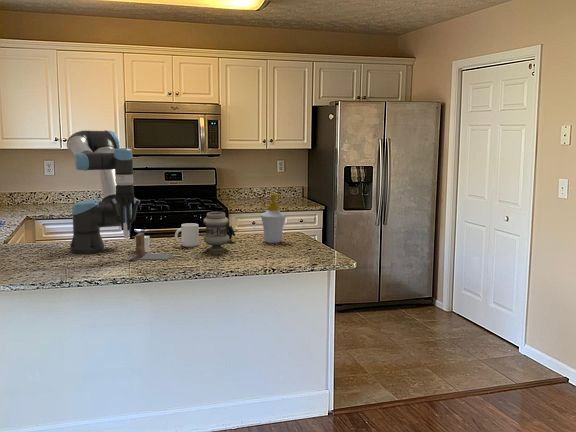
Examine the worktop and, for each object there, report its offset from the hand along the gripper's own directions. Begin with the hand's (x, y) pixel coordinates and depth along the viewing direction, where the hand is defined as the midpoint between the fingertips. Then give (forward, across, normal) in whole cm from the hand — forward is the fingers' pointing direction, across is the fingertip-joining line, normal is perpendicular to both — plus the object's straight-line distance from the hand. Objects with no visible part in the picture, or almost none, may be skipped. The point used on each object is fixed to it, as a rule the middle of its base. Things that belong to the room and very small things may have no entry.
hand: (126, 237), depth 251 cm
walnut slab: (+9, +6, 0) cm, 10 cm away
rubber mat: (+9, +11, 0) cm, 14 cm away
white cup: (+9, +4, +12) cm, 16 cm away
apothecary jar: (+9, +38, +15) cm, 42 cm away
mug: (+9, +22, +26) cm, 35 cm away
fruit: (+9, +38, +37) cm, 54 cm away
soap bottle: (+9, +64, +37) cm, 75 cm away
